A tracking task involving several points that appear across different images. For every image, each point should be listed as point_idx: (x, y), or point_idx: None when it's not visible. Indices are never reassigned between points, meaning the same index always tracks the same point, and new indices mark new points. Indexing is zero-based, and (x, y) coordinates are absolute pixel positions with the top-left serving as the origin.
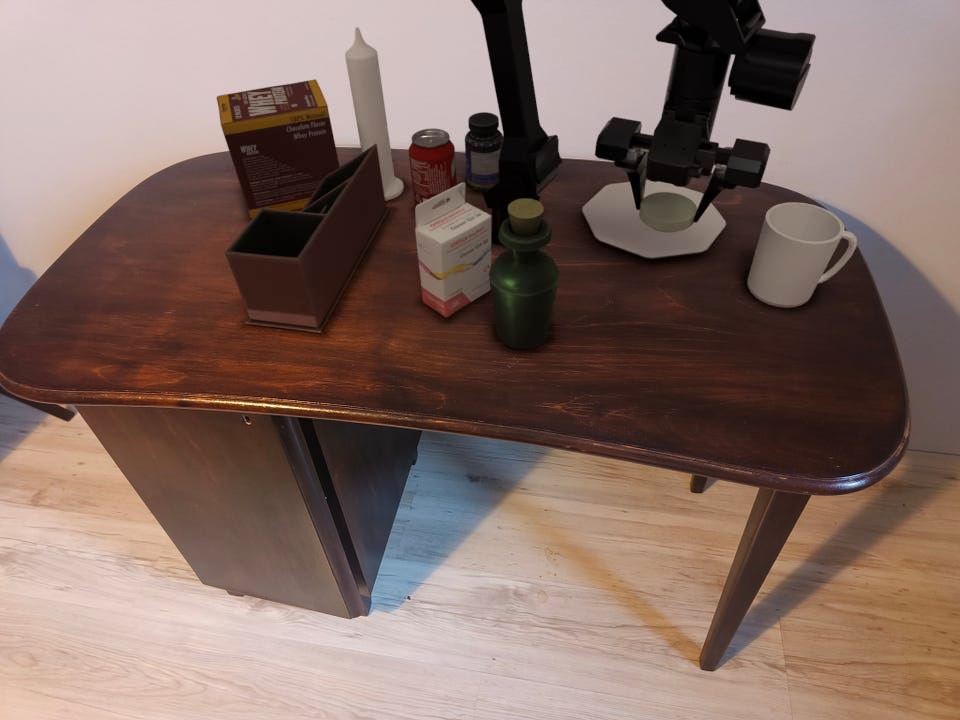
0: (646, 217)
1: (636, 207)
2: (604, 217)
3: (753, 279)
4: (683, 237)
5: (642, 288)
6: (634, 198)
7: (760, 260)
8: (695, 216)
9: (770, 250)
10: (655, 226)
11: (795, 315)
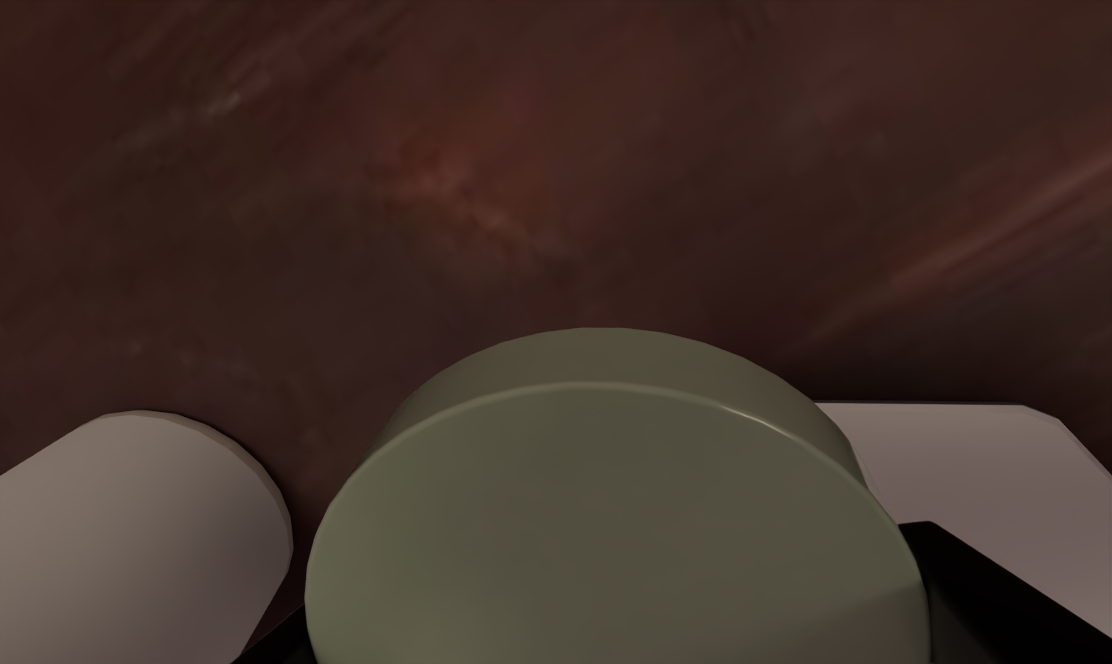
0: (748, 396)
1: (943, 535)
2: (1059, 598)
3: (201, 480)
4: None
5: (636, 204)
6: (1054, 608)
7: (114, 552)
8: (304, 631)
9: None
10: (599, 340)
11: (41, 403)
